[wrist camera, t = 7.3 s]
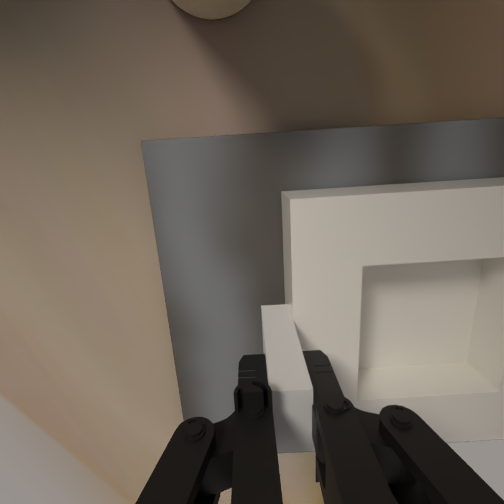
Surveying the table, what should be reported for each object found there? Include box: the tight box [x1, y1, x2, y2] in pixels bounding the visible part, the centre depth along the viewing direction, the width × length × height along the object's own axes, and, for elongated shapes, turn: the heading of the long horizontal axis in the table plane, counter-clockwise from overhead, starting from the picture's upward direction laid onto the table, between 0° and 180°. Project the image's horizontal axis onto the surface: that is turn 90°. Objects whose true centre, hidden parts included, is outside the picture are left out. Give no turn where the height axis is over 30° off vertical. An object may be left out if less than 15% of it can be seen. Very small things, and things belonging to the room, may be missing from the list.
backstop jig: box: [141, 118, 504, 423], centre depth 15 cm, size 26×20×10 cm
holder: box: [281, 177, 504, 451], centre depth 17 cm, size 14×14×4 cm
